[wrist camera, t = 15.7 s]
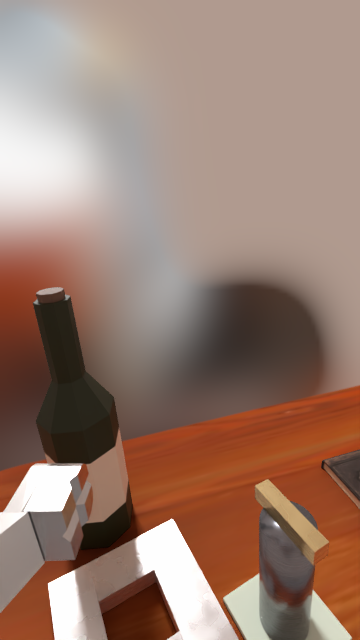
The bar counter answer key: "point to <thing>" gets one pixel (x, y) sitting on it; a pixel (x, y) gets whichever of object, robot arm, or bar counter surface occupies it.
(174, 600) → the plate
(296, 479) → the bar counter surface
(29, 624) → the bar counter surface
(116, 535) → the wine bottle
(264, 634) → the coaster
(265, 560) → the t key
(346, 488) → the hardcover book
